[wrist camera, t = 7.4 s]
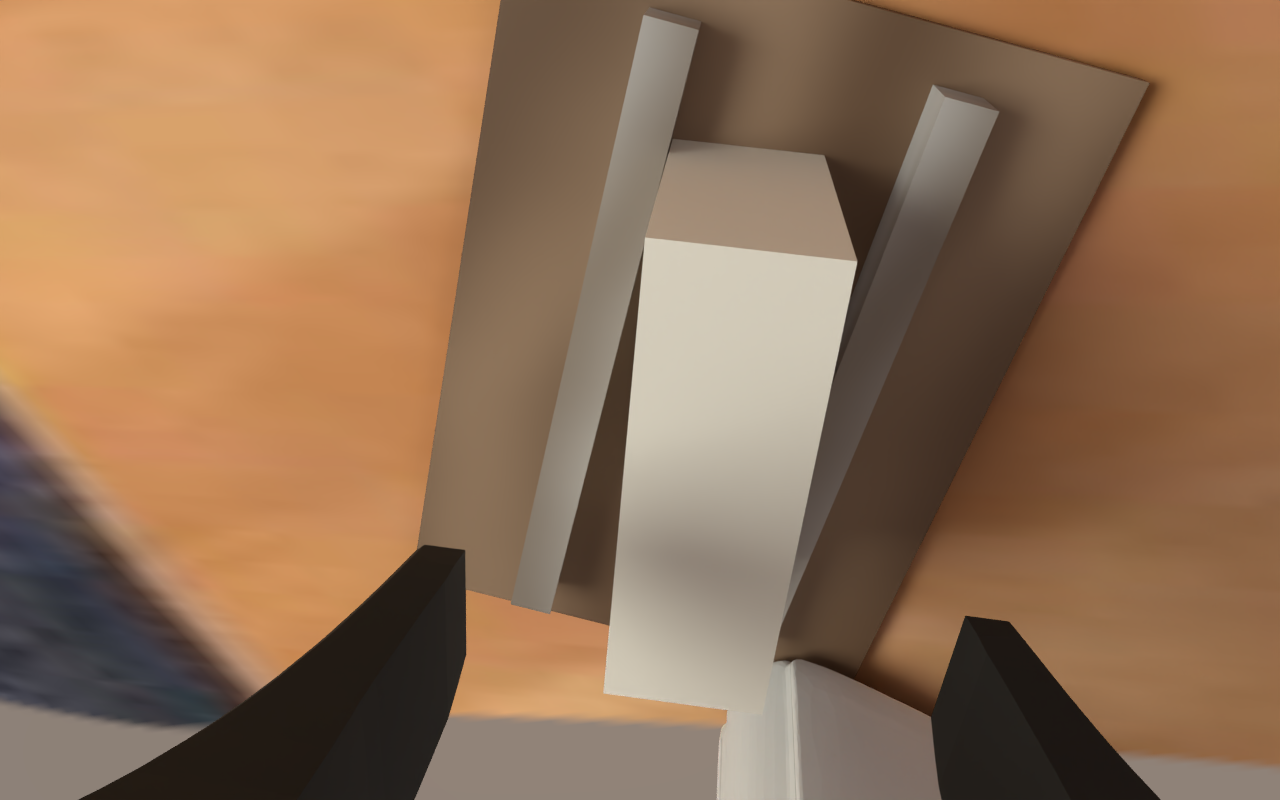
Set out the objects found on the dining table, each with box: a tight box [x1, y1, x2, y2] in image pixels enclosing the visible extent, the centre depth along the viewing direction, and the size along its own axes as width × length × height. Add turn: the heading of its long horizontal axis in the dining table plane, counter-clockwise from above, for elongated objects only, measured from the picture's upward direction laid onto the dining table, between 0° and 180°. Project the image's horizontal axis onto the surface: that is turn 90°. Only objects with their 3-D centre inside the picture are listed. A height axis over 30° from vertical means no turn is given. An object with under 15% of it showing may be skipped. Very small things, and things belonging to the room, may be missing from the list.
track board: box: [417, 0, 1149, 680], centre depth 20 cm, size 12×16×2 cm
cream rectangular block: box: [603, 139, 857, 715], centre depth 18 cm, size 3×9×6 cm, turn 175°
